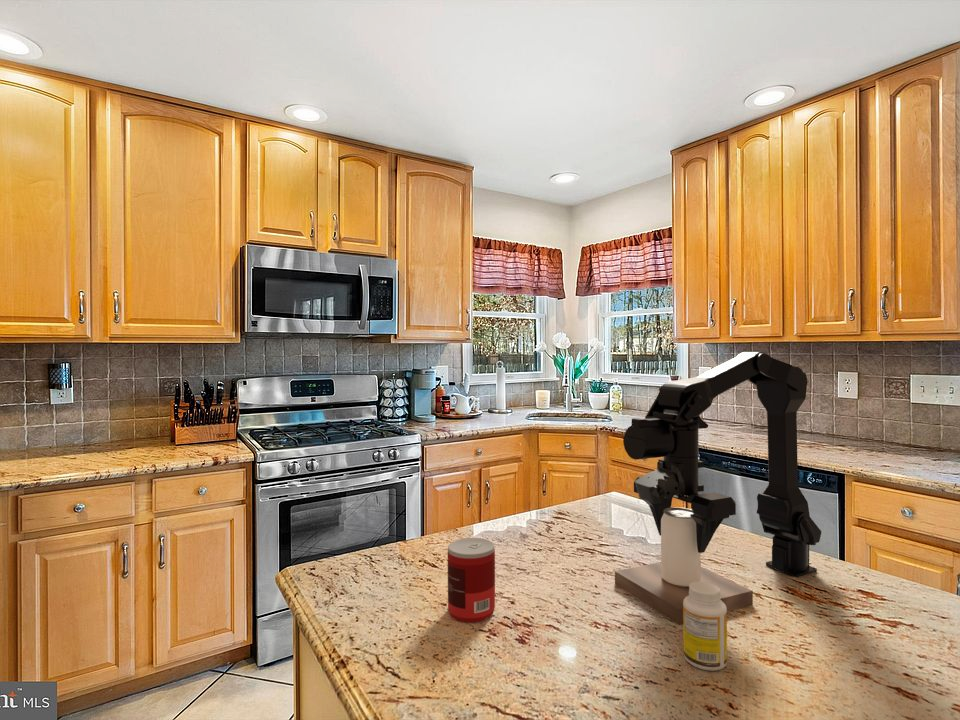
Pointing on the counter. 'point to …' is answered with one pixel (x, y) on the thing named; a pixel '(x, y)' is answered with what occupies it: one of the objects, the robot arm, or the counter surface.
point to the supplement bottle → (705, 627)
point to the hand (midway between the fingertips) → (680, 543)
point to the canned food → (471, 579)
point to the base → (676, 590)
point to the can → (679, 548)
